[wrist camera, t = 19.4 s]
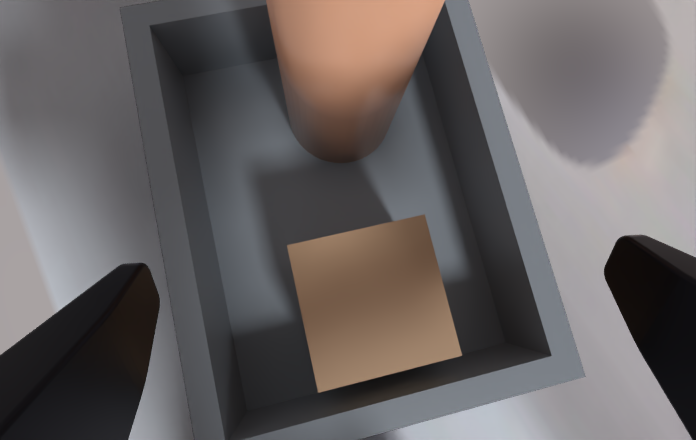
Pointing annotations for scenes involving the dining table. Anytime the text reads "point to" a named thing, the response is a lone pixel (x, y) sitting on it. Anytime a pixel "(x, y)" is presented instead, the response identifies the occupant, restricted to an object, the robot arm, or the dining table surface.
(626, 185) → the dining table surface
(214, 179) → the tote
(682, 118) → the dining table surface
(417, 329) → the cube
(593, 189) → the dining table surface
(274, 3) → the cylinder
